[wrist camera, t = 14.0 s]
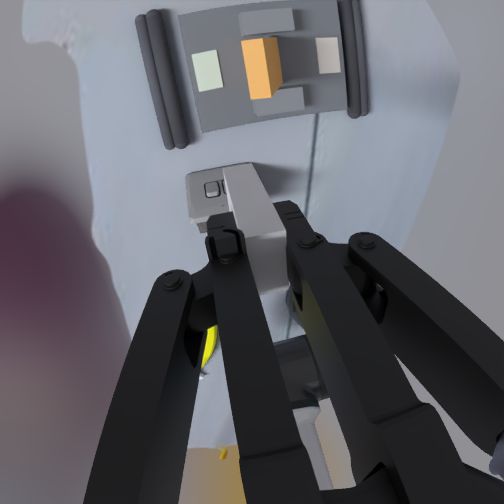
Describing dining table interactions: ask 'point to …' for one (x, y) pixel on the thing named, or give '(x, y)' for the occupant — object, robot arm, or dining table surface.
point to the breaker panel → (290, 51)
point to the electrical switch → (206, 195)
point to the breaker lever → (262, 66)
